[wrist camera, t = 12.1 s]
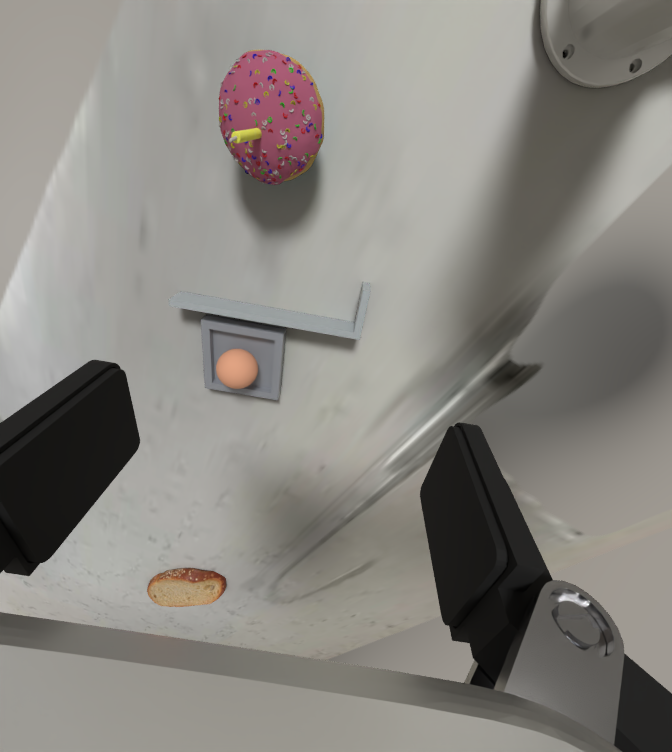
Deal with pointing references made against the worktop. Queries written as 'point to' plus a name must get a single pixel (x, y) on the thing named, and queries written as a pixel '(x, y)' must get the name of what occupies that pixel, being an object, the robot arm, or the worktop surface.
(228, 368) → the ball
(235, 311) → the wall
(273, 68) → the cupcake
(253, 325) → the dish
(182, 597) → the bread slice
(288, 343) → the worktop surface
